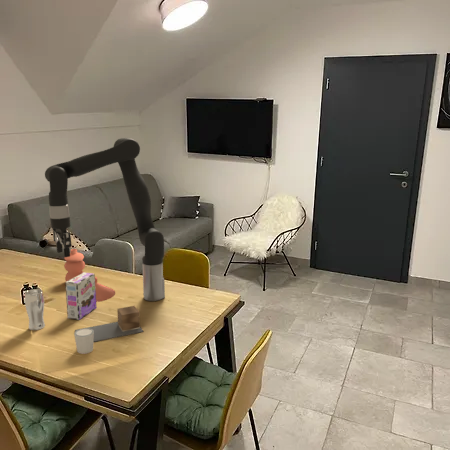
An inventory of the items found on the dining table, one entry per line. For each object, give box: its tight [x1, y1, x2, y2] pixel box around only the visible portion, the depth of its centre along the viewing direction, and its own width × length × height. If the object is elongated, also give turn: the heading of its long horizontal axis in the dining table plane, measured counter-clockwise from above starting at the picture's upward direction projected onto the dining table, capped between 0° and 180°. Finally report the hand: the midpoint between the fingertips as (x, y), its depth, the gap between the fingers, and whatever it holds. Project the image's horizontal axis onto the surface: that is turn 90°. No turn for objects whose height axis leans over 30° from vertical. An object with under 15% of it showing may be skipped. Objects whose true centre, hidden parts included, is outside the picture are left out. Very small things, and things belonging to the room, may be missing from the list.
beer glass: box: [24, 288, 46, 331], centre depth 179 cm, size 7×7×15 cm
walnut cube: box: [116, 305, 141, 332], centre depth 180 cm, size 7×7×7 cm
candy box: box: [65, 271, 98, 321], centre depth 192 cm, size 14×6×16 cm, turn 164°
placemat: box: [74, 321, 144, 343], centre depth 177 cm, size 24×13×1 cm, turn 118°
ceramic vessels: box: [63, 248, 116, 303], centre depth 217 cm, size 35×21×19 cm, turn 46°
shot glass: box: [73, 327, 95, 355], centre depth 162 cm, size 7×7×7 cm
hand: (63, 254), depth 184 cm, fingers open, 8 cm apart
